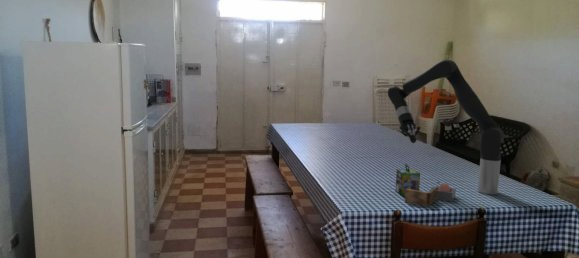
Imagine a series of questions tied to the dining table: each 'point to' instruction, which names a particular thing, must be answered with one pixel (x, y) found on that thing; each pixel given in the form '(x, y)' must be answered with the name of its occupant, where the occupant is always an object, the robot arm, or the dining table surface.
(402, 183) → the chalk box
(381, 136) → the dining table surface
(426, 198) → the corner fence
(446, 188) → the dome
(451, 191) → the dome collar
